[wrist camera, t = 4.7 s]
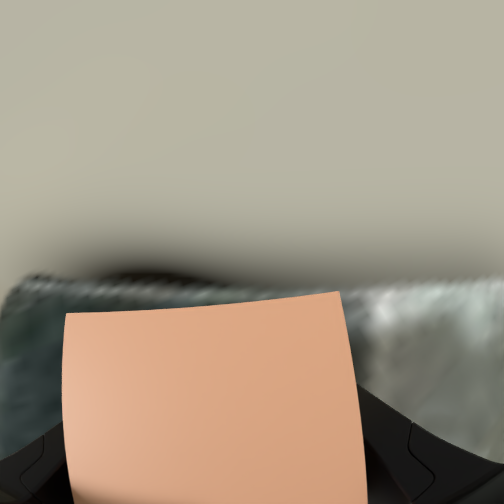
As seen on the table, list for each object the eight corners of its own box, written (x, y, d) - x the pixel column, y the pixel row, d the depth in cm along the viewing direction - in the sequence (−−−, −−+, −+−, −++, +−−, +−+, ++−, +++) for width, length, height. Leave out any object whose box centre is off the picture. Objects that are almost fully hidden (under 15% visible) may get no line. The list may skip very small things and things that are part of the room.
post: (298, 455, 12) (367, 555, 2) (201, 461, 12) (86, 549, 2) (288, 366, 14) (338, 291, 5) (193, 373, 14) (66, 313, 5)
